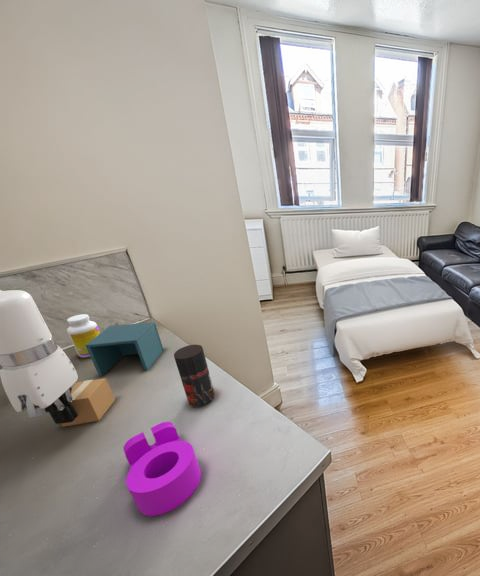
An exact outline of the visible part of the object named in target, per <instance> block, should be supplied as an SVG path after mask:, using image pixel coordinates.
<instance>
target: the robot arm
mask: <svg viewBox="0 0 480 576" xmlns="http://www.w3.org/2000/svg"><path fill="white" fill-rule="evenodd" d="M53 336H54V335H53V334H52V333H51V330H50V329H49V327H48V325H47V323H46V321H45V319H44V318H43V316H42V313H41V311H40V310H39V308H38V305H37V304H36V302H35V300H34V298H33V296H32V295H31V294H30V293H29V292H27V291H25V290H20V289H11V290H1V289H0V366H1V367H2V368H1V369H0V381H1V384H2V387H3V390H4V392H5V394H6V397H7V398H8V401H9V402H10V404H11V406H12V408H13V409H14V410H15V411H16V412H17V413H22V412H24V411H27V415H28V418H29V419H34V418H40V417H42V416H43V415H45V414H47V413H48V414H49V415H50V417H51V418H52V420H53V422H54V423H55V425H61V424H62V423H69V422H73V421H74V420H75V418H76V417H77V416H78V414H77V412H76V410H75V409H74V407H73V405H72V403H70V402H71V401H72V399H73V398H72V395H71V391H72V388H73V387H74V386H75V384H76V382H78V379H79V375H78V372H77V370H76V368H75V366H74V364H73V362H72V361H71V359H70V358H69V357H68V355H67V353H65V351H64V350H63V349H62V348H61V347H60V345H58V344H57V342H56V341H55V339H54V337H53ZM51 404H52V405H51Z"/></svg>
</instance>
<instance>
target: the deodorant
mask: <svg viewBox="0 0 480 576" xmlns="http://www.w3.org/2000/svg"><path fill="white" fill-rule="evenodd" d="M173 358H174V361H175V363H176V364H175V365H176V367H177V370H178V374H179V377H180V380H181V383H182V386H183V390H184V393H185V396H186V399H187V403H188V405H189V407H191V408H196V409H197V408H198V409H199V408H202V407H205V406H207V405H209V404H210V403H211V402H213V400H214V399H215V397H216V393H215V388H214V385H213V382H212V378H211V374H210V371H209V366H208V362H207V359H206V355H205V352H204V348H203V346H202V345H201V344H189V345H185V346H183V347H180V348H179V349H177V350H175V352H174V353H173Z"/></svg>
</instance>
